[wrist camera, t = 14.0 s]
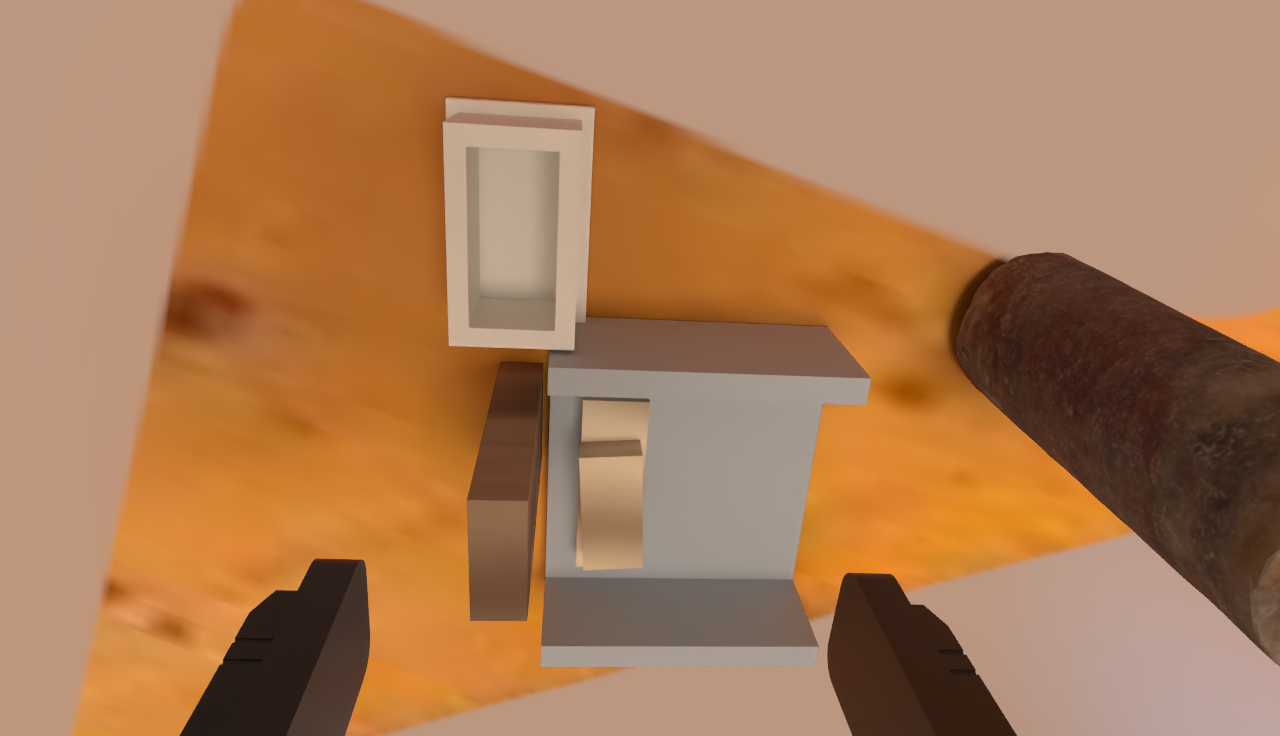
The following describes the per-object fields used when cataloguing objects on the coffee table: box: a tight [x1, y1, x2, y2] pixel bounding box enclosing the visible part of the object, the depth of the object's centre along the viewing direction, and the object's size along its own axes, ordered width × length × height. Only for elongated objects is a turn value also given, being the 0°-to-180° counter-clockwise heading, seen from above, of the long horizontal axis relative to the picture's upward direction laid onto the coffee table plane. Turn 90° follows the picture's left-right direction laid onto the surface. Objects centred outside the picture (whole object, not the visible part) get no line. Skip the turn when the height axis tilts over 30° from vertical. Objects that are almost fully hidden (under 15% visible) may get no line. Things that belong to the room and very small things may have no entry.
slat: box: [467, 362, 543, 621], centre depth 33 cm, size 5×2×12 cm, turn 177°
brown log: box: [956, 252, 1280, 666], centre depth 29 cm, size 8×7×20 cm
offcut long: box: [576, 397, 650, 567], centre depth 38 cm, size 9×3×2 cm, turn 176°
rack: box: [541, 317, 871, 667], centre depth 37 cm, size 15×13×6 cm
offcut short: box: [579, 440, 643, 570], centre depth 37 cm, size 6×3×2 cm, turn 0°
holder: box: [443, 97, 595, 350], centre depth 32 cm, size 10×6×5 cm, turn 176°
